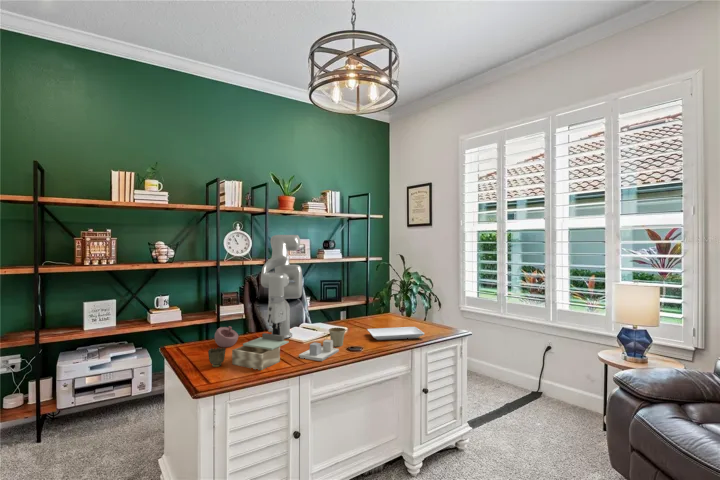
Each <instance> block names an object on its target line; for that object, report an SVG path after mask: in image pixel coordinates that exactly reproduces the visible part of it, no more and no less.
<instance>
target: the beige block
mask: <svg viewBox="0 0 720 480" xmlns="http://www.w3.org/2000/svg"><path fill="white" fill-rule="evenodd" d="M322 347H323V352H331V351H332V350H333V348H334V346H333V340H331V339H324V340H323V342H322Z"/></svg>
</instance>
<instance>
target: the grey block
mask: <svg viewBox="0 0 720 480" xmlns="http://www.w3.org/2000/svg"><path fill="white" fill-rule="evenodd" d="M321 346H322V343H319V342H315V341H314V342H312V343H309V349H310V355H316V356H317V355H319V354H321Z"/></svg>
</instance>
